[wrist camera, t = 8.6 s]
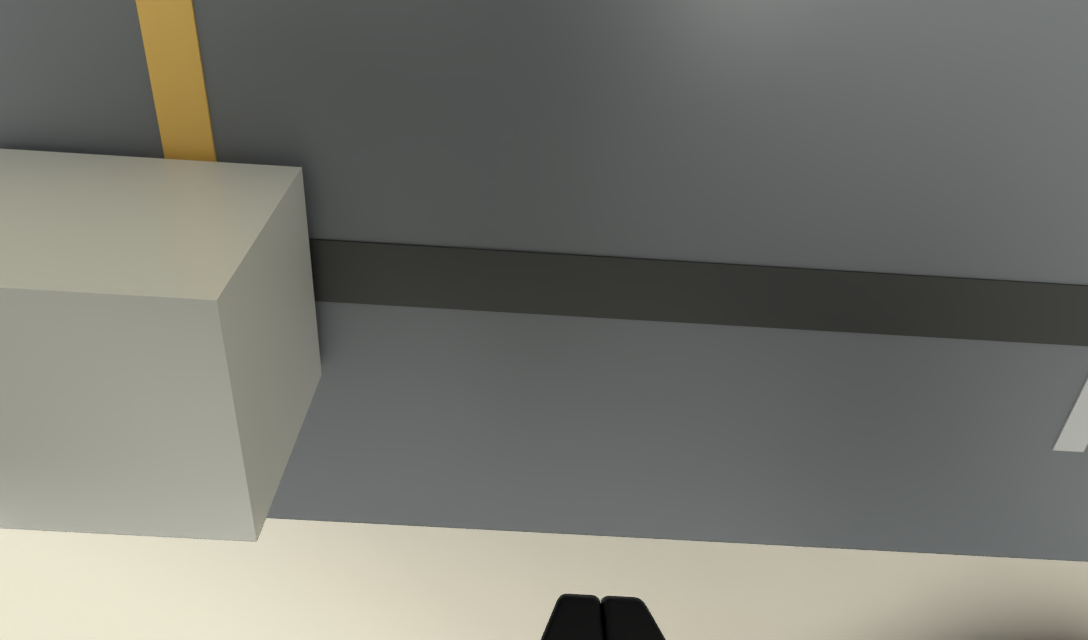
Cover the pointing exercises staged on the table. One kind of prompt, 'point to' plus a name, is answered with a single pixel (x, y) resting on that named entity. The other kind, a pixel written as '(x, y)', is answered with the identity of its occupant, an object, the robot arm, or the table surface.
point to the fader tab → (151, 342)
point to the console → (645, 251)
